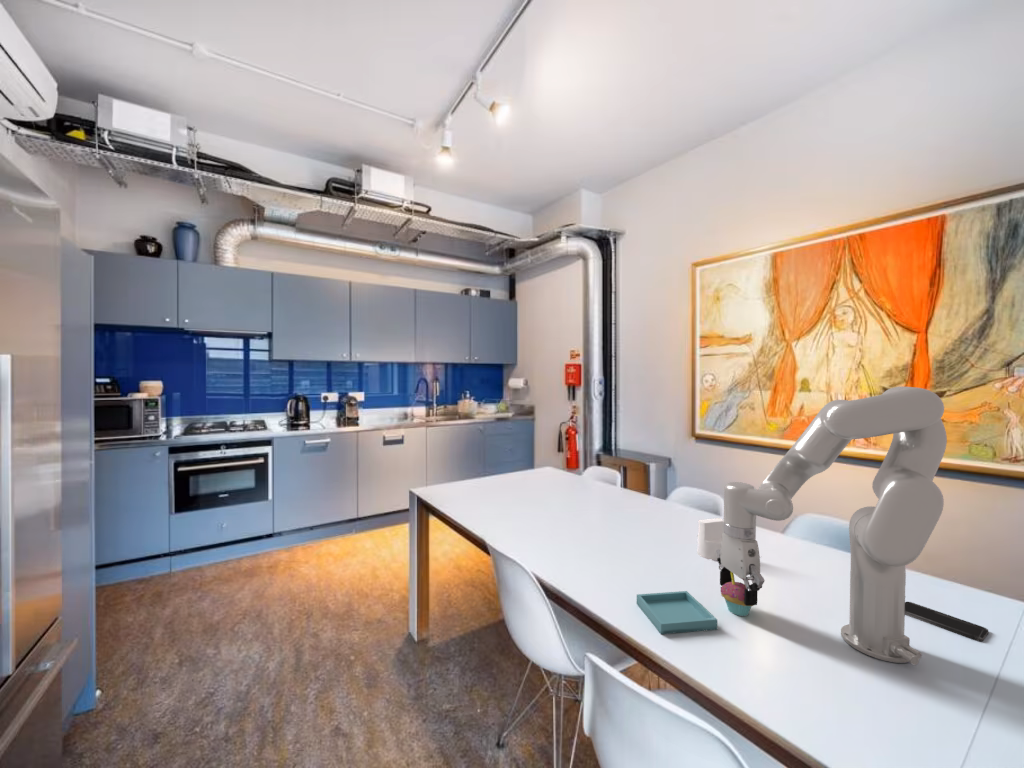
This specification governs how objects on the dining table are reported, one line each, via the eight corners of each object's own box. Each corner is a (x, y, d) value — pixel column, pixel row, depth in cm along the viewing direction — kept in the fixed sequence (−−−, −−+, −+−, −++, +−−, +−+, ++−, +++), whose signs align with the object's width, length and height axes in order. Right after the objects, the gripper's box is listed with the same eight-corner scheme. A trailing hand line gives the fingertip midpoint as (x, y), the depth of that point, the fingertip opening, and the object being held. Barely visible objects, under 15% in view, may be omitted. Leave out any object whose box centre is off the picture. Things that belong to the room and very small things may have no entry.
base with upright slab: (709, 561, 139) (710, 526, 138) (691, 550, 147) (691, 517, 147) (732, 558, 141) (732, 523, 141) (712, 548, 150) (713, 515, 150)
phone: (981, 639, 97) (896, 608, 109) (981, 644, 97) (896, 613, 109) (989, 628, 101) (907, 600, 114) (989, 633, 101) (907, 604, 114)
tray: (717, 629, 101) (717, 619, 101) (661, 634, 100) (661, 624, 99) (686, 599, 115) (686, 590, 115) (636, 603, 113) (636, 594, 113)
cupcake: (719, 614, 108) (720, 568, 108) (720, 599, 115) (721, 556, 115) (758, 623, 104) (758, 576, 104) (756, 607, 111) (756, 562, 111)
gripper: (777, 543, 101) (775, 612, 102) (730, 518, 118) (729, 577, 119) (749, 544, 100) (747, 614, 101) (706, 519, 117) (704, 579, 118)
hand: (737, 594), depth 110 cm, fingers open, 9 cm apart
